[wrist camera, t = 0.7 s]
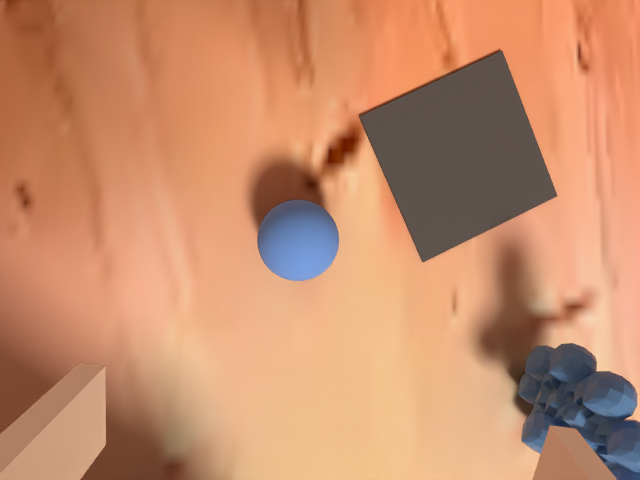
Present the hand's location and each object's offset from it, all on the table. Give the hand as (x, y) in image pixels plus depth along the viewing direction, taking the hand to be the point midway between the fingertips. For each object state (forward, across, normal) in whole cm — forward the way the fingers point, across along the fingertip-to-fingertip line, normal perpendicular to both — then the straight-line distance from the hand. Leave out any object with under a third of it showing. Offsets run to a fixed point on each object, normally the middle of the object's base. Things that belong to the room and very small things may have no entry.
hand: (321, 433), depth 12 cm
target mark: (+22, -9, -8) cm, 25 cm away
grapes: (+20, -17, +10) cm, 28 cm away
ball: (+17, +2, -1) cm, 17 cm away
